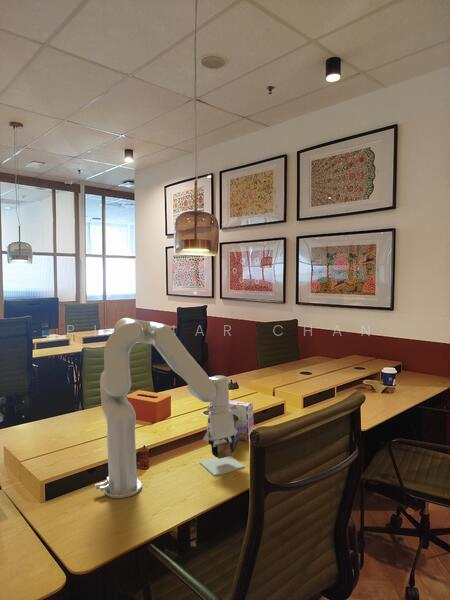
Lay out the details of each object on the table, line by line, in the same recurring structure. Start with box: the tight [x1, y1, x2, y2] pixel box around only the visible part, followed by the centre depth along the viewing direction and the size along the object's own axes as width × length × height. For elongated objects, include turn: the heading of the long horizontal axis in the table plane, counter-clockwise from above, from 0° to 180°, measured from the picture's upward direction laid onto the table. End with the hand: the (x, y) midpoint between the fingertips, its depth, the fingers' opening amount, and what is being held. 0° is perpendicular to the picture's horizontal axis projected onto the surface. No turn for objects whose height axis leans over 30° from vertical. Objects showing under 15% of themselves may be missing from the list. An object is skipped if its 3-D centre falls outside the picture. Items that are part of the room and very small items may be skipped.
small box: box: [219, 420, 238, 453], centre depth 176 cm, size 11×6×10 cm, turn 168°
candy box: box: [229, 399, 255, 443], centre depth 187 cm, size 14×6×16 cm, turn 58°
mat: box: [199, 455, 245, 477], centre depth 159 cm, size 13×13×1 cm
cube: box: [216, 439, 231, 459], centre depth 159 cm, size 5×5×5 cm
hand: (221, 453), depth 159 cm, fingers closed on cube, 5 cm apart
